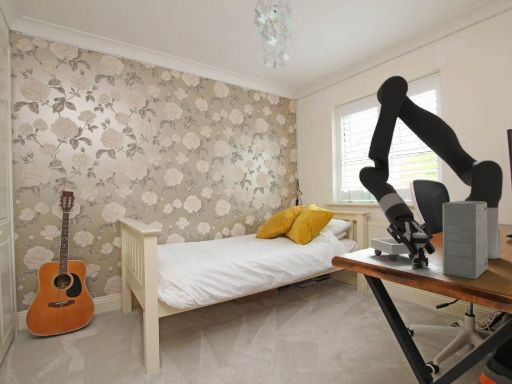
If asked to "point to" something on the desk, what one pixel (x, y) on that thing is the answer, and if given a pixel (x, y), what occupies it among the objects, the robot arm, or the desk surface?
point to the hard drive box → (465, 238)
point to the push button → (420, 258)
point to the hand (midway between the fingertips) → (424, 253)
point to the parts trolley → (389, 248)
